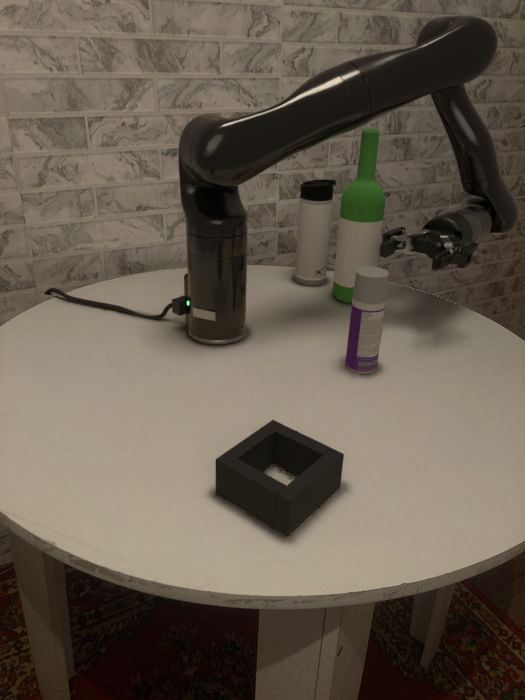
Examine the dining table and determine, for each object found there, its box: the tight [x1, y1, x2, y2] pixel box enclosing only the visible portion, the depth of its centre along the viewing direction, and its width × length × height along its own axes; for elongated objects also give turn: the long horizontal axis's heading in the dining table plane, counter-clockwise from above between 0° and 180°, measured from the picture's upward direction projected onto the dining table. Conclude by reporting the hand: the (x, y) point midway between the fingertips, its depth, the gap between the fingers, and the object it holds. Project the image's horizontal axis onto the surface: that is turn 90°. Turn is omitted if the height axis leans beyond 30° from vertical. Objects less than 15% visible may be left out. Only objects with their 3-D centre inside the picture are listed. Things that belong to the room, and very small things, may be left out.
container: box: [344, 266, 390, 375], centre depth 85 cm, size 5×5×15 cm
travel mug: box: [294, 178, 337, 287], centre depth 115 cm, size 6×7×20 cm
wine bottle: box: [332, 128, 386, 304], centre depth 106 cm, size 8×8×30 cm
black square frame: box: [215, 419, 345, 537], centre depth 63 cm, size 10×10×4 cm
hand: (408, 257), depth 90 cm, fingers open, 8 cm apart
